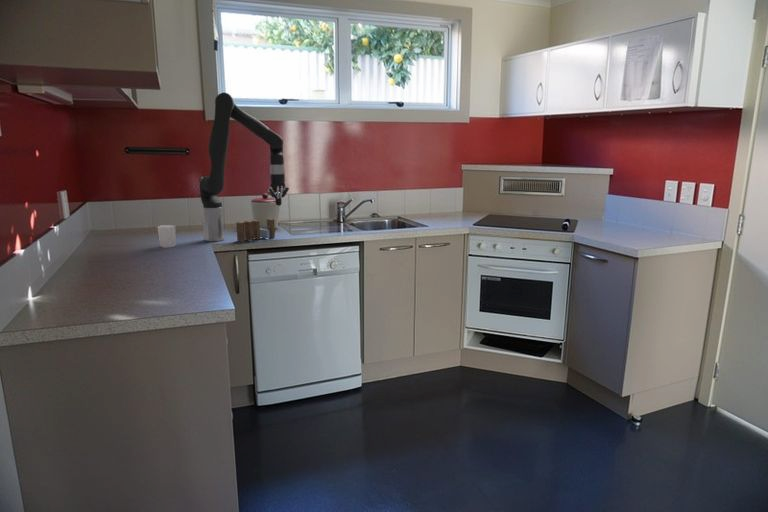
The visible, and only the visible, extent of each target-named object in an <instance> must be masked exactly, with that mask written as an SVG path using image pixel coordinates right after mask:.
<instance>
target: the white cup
mask: <svg viewBox="0 0 768 512" xmlns="http://www.w3.org/2000/svg"><path fill="white" fill-rule="evenodd" d="M157 232H158V238H159V246H160V248H165V249H167V248H168V249H169V248H175V247H176V225H174V224H173V225H172V224H165V225H164V224H163V225H160V226H159V225H158V226H157Z"/></svg>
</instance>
